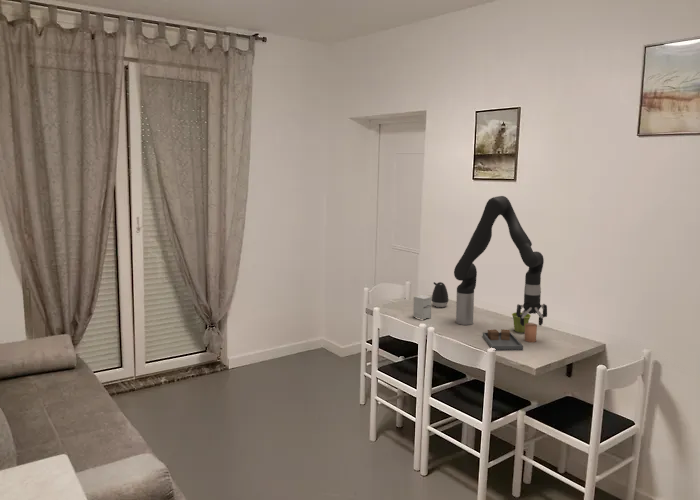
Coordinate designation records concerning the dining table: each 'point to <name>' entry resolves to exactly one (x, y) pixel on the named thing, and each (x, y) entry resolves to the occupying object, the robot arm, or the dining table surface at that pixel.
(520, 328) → the plant pot
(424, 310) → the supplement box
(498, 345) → the tray
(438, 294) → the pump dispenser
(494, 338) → the walnut block
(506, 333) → the walnut block
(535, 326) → the cylinder block
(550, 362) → the dining table surface
